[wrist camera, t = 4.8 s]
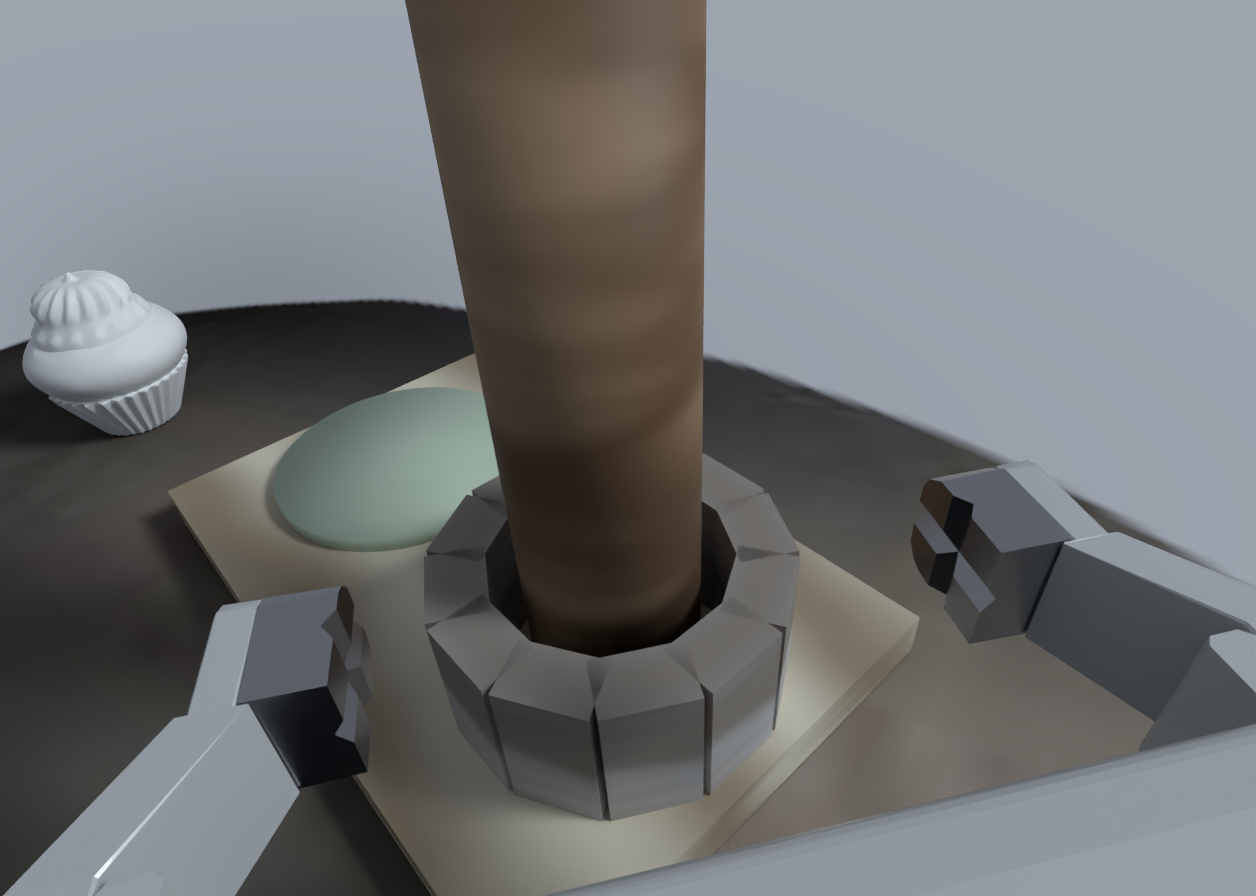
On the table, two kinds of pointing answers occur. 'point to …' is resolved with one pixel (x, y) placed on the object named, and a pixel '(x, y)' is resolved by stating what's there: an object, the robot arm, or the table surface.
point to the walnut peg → (583, 292)
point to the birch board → (419, 703)
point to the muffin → (106, 352)
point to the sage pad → (386, 469)
